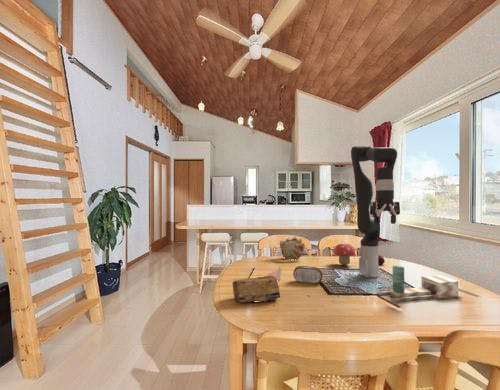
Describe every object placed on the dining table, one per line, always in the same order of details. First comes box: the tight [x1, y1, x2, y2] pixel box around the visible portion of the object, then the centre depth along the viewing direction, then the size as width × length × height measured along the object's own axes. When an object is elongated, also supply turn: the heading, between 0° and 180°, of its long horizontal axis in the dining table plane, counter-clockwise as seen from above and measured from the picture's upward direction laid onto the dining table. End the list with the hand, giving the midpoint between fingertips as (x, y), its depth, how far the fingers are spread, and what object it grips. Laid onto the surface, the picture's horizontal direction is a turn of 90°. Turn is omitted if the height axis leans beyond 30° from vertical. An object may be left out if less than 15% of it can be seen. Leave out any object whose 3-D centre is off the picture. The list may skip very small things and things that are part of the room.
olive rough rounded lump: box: [279, 236, 307, 261], centre depth 191 cm, size 18×18×15 cm
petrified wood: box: [232, 276, 281, 303], centre depth 117 cm, size 19×13×10 cm
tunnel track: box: [376, 274, 482, 309], centre depth 117 cm, size 42×13×8 cm, turn 101°
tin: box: [293, 265, 323, 285], centre depth 139 cm, size 15×3×8 cm, turn 71°
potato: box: [378, 254, 385, 266], centre depth 178 cm, size 7×8×6 cm
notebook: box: [267, 266, 282, 281], centre depth 155 cm, size 27×17×2 cm, turn 171°
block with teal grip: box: [389, 265, 431, 298], centre depth 116 cm, size 16×5×13 cm, turn 100°
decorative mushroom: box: [333, 242, 356, 267], centre depth 174 cm, size 13×13×15 cm
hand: (385, 223), depth 125 cm, fingers open, 8 cm apart
